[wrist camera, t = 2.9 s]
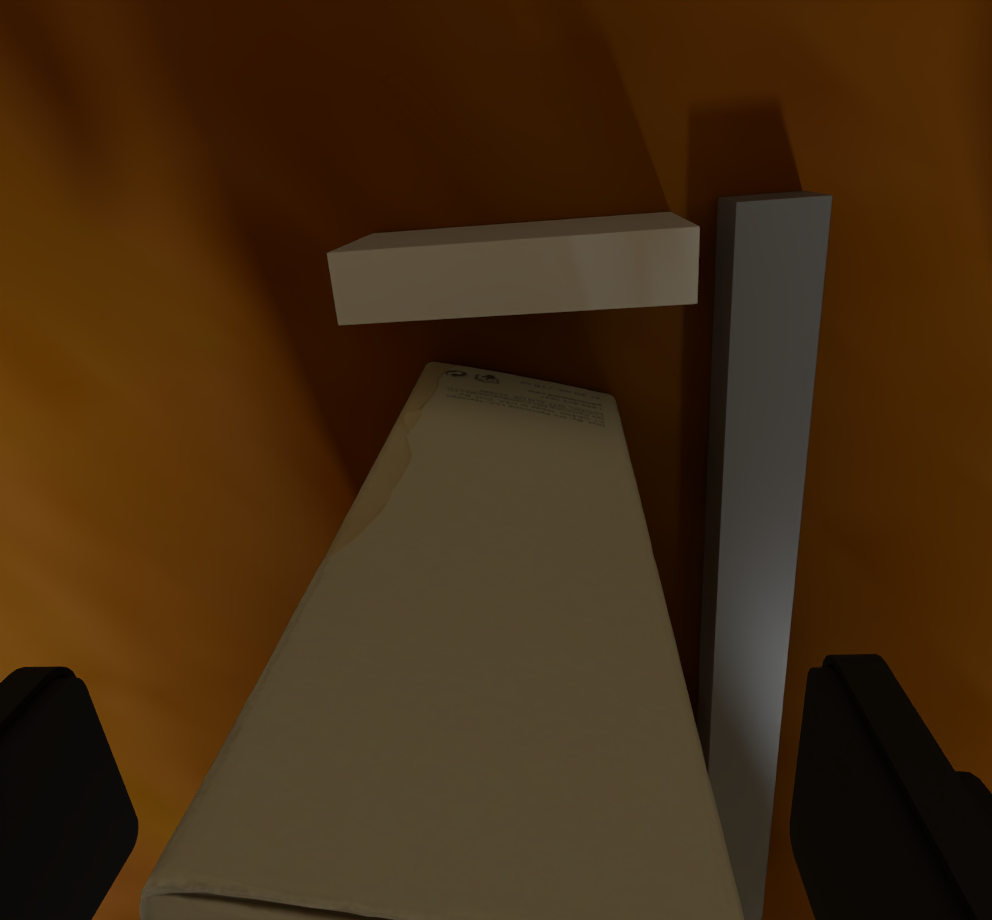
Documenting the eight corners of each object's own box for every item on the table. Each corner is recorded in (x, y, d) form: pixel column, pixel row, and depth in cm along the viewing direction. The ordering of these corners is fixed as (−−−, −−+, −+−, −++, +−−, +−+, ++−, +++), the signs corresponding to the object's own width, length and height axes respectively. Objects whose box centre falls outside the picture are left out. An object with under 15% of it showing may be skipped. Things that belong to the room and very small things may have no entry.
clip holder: (803, 190, 14) (868, 200, 11) (746, 875, 21) (777, 992, 18) (371, 222, 15) (323, 240, 12) (459, 869, 22) (444, 980, 19)
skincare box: (426, 354, 16) (104, 843, 5) (627, 393, 16) (794, 980, 5) (393, 593, 18) (132, 1286, 7) (565, 626, 18) (576, 1375, 7)
